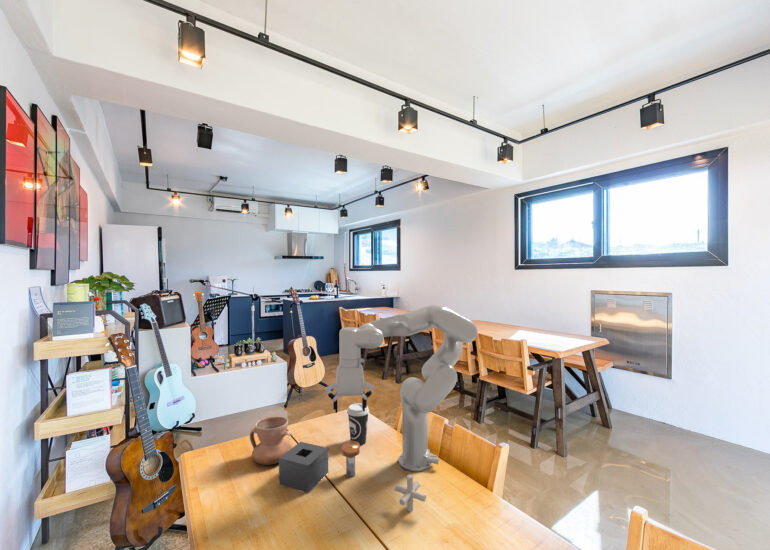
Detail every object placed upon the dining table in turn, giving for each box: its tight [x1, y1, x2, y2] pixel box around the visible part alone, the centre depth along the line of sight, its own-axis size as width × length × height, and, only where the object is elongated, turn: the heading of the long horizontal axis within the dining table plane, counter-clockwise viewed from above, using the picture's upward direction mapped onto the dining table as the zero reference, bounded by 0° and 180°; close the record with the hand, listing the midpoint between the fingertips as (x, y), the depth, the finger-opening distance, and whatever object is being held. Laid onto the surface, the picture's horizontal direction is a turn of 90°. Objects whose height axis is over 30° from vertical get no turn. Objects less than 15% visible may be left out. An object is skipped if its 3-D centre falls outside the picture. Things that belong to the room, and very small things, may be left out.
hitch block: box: [278, 441, 329, 494], centre depth 116 cm, size 12×12×9 cm
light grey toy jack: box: [393, 474, 427, 512], centre depth 100 cm, size 10×10×10 cm
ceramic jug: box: [249, 416, 293, 466], centre depth 129 cm, size 18×14×14 cm
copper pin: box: [341, 440, 361, 478], centre depth 118 cm, size 6×6×10 cm
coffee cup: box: [346, 402, 370, 446], centre depth 141 cm, size 10×10×15 cm
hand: (350, 410), depth 118 cm, fingers open, 9 cm apart
